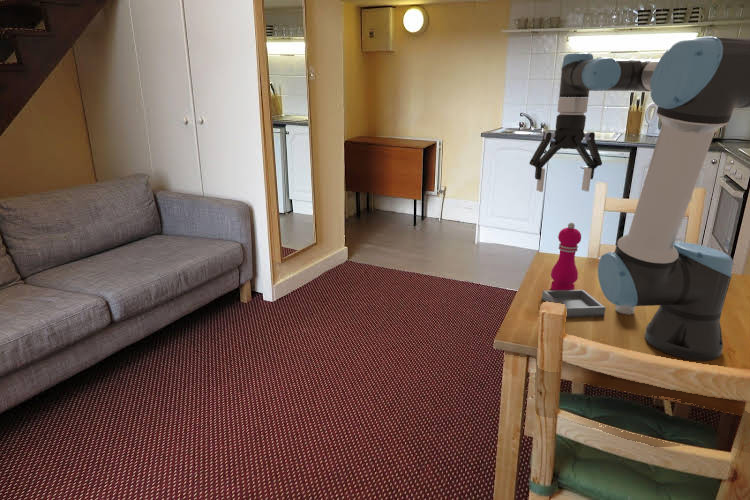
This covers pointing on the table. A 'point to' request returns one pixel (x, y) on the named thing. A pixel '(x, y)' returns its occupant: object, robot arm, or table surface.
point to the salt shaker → (625, 309)
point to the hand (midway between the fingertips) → (562, 190)
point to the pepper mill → (566, 259)
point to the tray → (575, 302)
